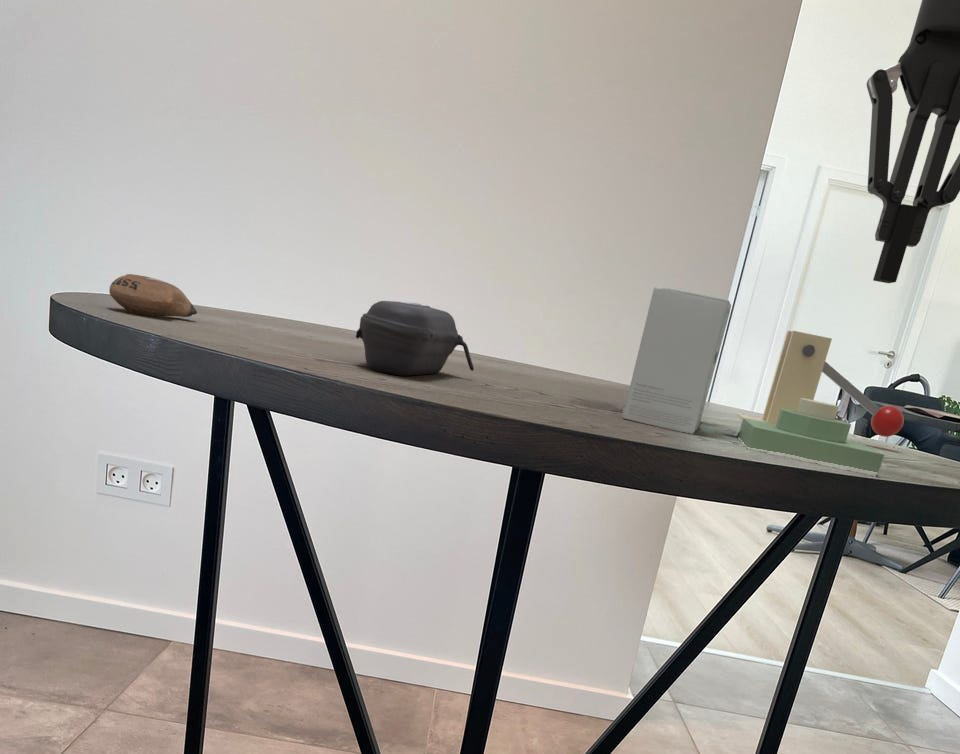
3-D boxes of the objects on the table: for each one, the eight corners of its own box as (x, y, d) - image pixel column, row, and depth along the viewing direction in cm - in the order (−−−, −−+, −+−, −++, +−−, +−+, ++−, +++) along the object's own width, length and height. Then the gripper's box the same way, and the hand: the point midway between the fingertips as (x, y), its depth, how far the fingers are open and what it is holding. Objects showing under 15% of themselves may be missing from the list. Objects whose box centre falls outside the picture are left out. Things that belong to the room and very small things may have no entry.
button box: (854, 463, 98) (866, 424, 96) (876, 477, 88) (891, 434, 87) (737, 438, 99) (748, 399, 97) (747, 450, 89) (759, 406, 88)
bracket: (815, 440, 119) (845, 342, 115) (827, 447, 112) (859, 343, 108) (735, 423, 120) (762, 326, 116) (741, 429, 113) (771, 325, 109)
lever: (883, 441, 116) (906, 417, 115) (891, 444, 113) (914, 420, 111) (782, 354, 115) (804, 329, 114) (786, 355, 111) (809, 329, 110)
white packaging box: (694, 435, 92) (730, 299, 88) (620, 419, 94) (652, 284, 90) (700, 430, 99) (733, 303, 95) (630, 415, 101) (660, 289, 97)
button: (829, 422, 94) (835, 404, 93) (836, 426, 90) (842, 407, 90) (792, 414, 94) (798, 396, 94) (798, 417, 91) (804, 399, 90)
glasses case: (379, 349, 107) (414, 285, 104) (457, 402, 107) (494, 340, 104) (323, 348, 90) (364, 272, 87) (417, 411, 90) (460, 337, 87)
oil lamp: (193, 333, 100) (193, 328, 108) (202, 295, 99) (201, 292, 106) (103, 305, 97) (109, 301, 104) (112, 265, 96) (117, 264, 103)
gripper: (1031, 18, 86) (942, 295, 93) (883, -5, 87) (808, 270, 94) (1066, -9, 78) (967, 292, 86) (906, -34, 80) (822, 266, 87)
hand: (884, 281), depth 90 cm, fingers closed
